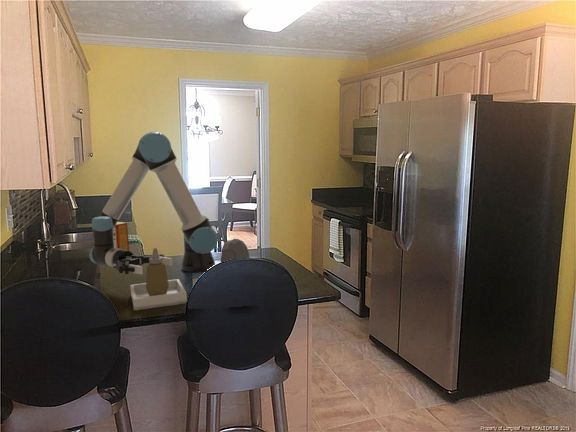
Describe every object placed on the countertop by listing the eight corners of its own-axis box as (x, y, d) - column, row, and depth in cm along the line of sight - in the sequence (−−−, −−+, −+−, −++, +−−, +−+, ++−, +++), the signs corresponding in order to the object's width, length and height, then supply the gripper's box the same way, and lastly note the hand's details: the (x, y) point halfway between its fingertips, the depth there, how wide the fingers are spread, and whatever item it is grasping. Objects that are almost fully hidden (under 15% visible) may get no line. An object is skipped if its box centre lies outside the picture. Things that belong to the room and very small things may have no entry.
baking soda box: (107, 252, 247) (105, 222, 245) (117, 249, 252) (115, 220, 250) (118, 254, 242) (116, 224, 239) (129, 251, 247) (127, 222, 245)
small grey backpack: (237, 282, 188) (236, 234, 185) (256, 284, 185) (254, 235, 182) (218, 293, 174) (216, 242, 171) (237, 296, 171) (236, 243, 168)
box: (179, 288, 181) (178, 279, 180) (187, 303, 164) (186, 292, 164) (131, 295, 174) (130, 284, 174) (134, 310, 158) (133, 299, 157)
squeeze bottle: (173, 295, 169) (170, 248, 167) (153, 301, 164) (150, 252, 161) (161, 291, 175) (159, 245, 172) (142, 296, 169) (139, 248, 166)
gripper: (146, 261, 189) (183, 268, 178) (91, 276, 169) (128, 285, 157) (145, 243, 188) (182, 249, 177) (90, 256, 168) (127, 263, 156)
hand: (157, 266), depth 167 cm, fingers open, 13 cm apart
